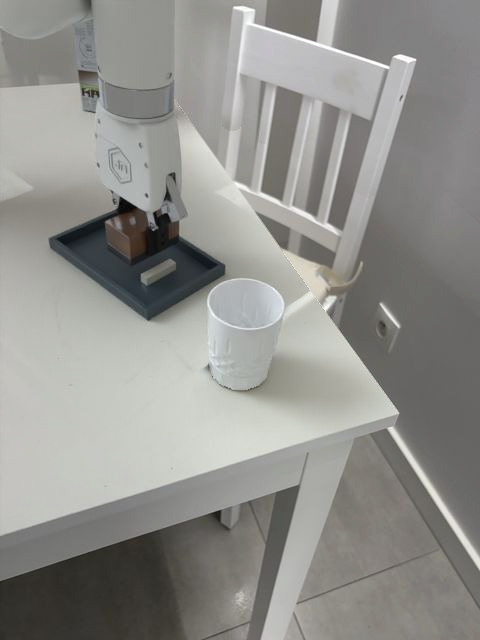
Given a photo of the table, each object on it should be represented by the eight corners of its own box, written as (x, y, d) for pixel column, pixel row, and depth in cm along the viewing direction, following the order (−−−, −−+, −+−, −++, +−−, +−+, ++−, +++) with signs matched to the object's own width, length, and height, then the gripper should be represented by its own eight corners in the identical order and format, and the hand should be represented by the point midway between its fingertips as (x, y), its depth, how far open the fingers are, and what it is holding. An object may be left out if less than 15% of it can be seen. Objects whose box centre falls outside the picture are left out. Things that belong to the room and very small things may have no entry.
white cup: (266, 402, 59) (278, 336, 52) (196, 387, 60) (198, 320, 53) (278, 351, 65) (290, 286, 58) (213, 338, 65) (217, 271, 58)
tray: (50, 252, 73) (47, 238, 72) (129, 217, 81) (128, 203, 80) (148, 325, 66) (147, 311, 64) (224, 278, 73) (225, 264, 72)
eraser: (107, 250, 68) (104, 221, 65) (155, 227, 73) (155, 199, 70) (131, 267, 67) (129, 238, 64) (179, 242, 71) (179, 214, 68)
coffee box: (113, 116, 104) (105, 21, 92) (81, 110, 104) (69, 15, 93) (131, 99, 110) (125, 8, 99) (101, 93, 111) (92, 2, 99)
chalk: (140, 281, 70) (140, 274, 69) (169, 265, 73) (169, 258, 72) (147, 286, 70) (146, 278, 69) (176, 269, 72) (176, 262, 72)
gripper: (55, 74, 57) (76, 223, 70) (166, 135, 51) (167, 286, 64) (113, 60, 62) (123, 203, 75) (222, 115, 55) (212, 261, 68)
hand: (143, 240), depth 69 cm, fingers closed on eraser, 4 cm apart
